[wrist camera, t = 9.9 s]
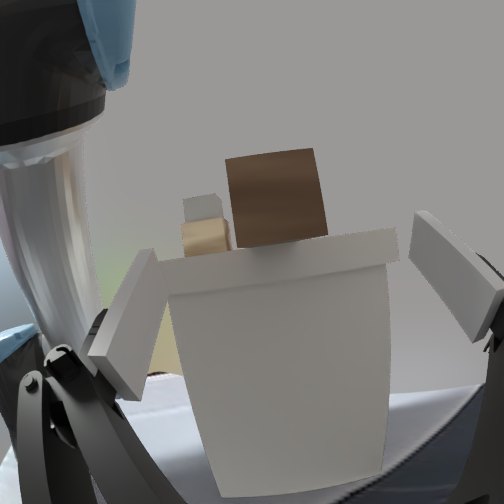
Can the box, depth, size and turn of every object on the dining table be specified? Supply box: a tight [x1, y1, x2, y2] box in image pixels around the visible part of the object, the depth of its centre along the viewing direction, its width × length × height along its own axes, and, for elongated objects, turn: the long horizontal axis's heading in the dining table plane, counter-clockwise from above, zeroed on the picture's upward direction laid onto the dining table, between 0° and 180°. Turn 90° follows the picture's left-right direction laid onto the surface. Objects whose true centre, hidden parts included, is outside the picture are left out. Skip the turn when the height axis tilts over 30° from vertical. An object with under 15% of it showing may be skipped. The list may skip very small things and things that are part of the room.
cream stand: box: [158, 227, 400, 497], centre depth 32 cm, size 18×22×30 cm
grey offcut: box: [183, 193, 224, 223], centre depth 35 cm, size 5×4×3 cm
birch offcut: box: [181, 217, 233, 257], centre depth 36 cm, size 6×5×4 cm
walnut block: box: [225, 148, 328, 248], centre depth 26 cm, size 28×4×4 cm, turn 177°
